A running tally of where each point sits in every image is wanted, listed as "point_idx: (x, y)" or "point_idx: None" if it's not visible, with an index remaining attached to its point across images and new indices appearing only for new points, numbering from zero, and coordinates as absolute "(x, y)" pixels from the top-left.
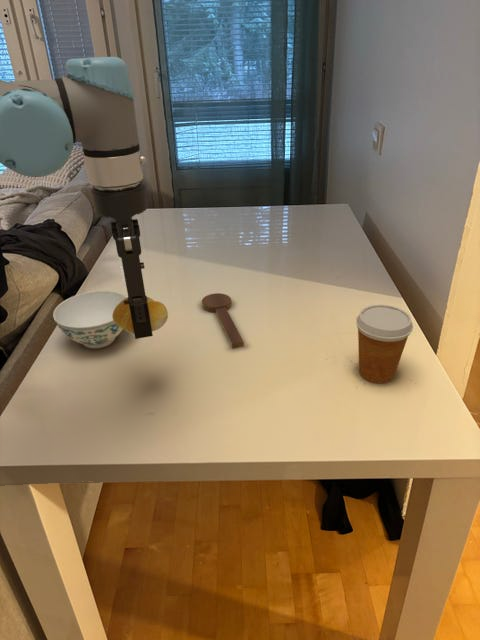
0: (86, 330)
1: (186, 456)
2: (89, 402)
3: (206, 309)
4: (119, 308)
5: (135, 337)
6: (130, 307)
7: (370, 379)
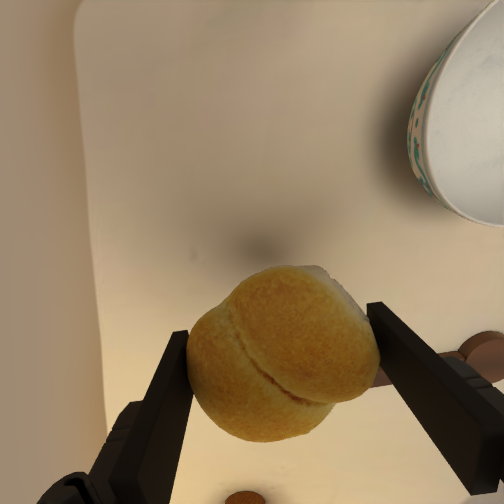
0: (422, 113)
1: (103, 306)
2: (233, 143)
3: (473, 339)
4: (276, 320)
5: (172, 335)
6: (124, 448)
7: (228, 501)
